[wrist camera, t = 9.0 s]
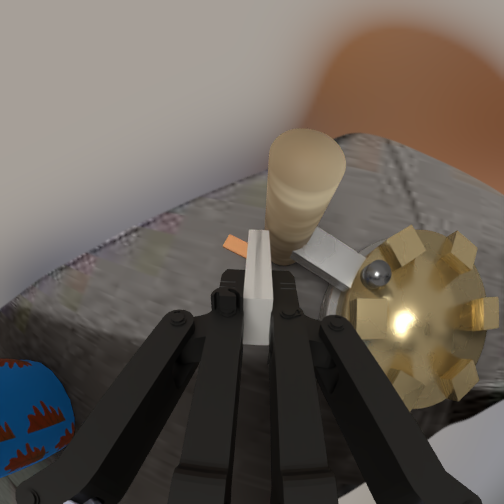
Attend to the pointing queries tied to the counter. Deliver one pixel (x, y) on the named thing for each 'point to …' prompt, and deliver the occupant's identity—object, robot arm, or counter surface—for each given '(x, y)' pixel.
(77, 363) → the counter surface
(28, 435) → the thermos
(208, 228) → the counter surface
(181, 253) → the counter surface
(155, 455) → the counter surface
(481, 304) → the studded brass turntable
